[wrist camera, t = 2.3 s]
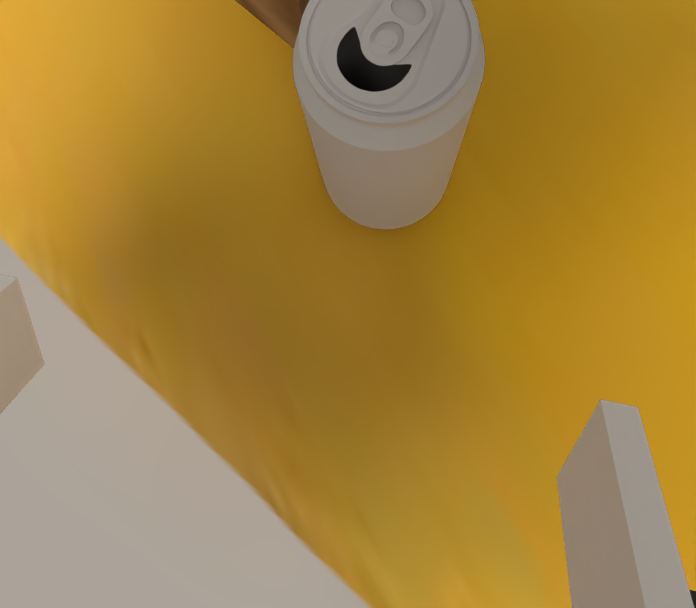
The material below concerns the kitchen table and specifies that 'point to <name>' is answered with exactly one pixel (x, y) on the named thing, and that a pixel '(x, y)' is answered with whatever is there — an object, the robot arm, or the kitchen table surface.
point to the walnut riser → (278, 15)
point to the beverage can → (387, 100)
